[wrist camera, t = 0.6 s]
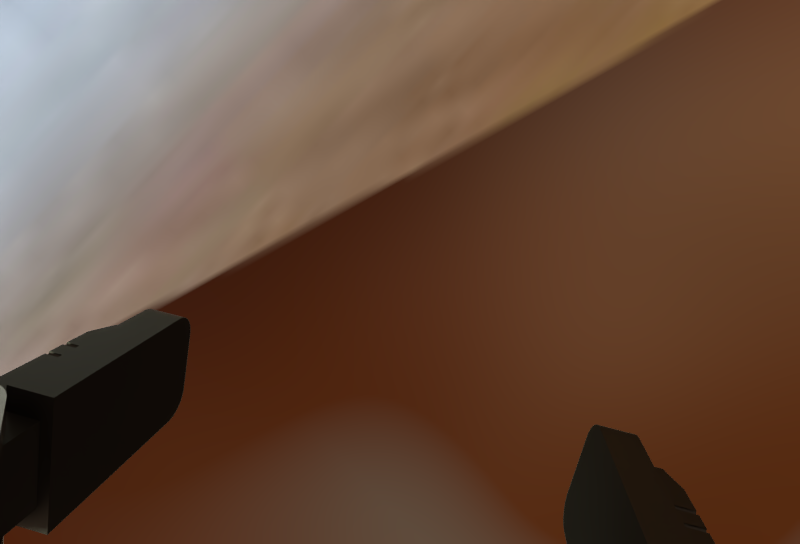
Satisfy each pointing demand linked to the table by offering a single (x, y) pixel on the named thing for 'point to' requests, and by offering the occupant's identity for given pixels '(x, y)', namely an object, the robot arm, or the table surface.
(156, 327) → the robot arm
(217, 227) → the table surface
